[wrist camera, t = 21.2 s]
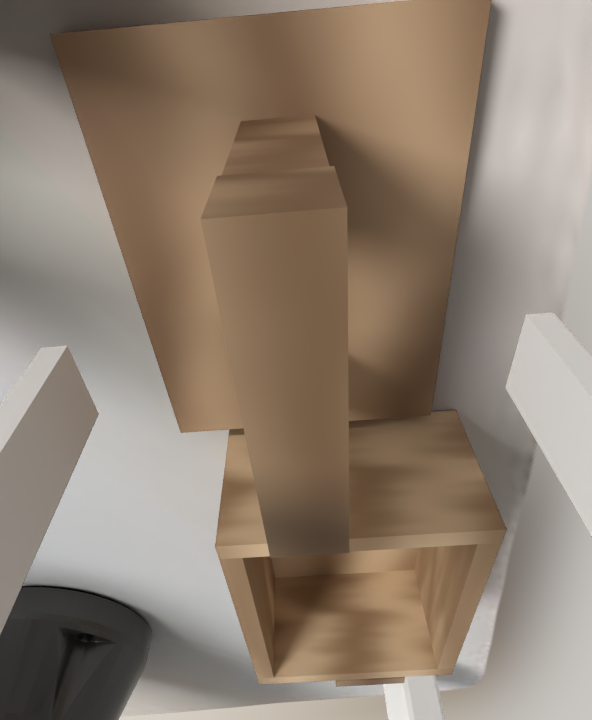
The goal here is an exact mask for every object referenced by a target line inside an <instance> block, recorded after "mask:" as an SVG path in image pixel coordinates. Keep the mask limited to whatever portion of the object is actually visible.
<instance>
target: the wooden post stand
mask: <svg viewBox="0 0 592 720" xmlns="http://www.w3.org/2000/svg"><path fill="white" fill-rule="evenodd" d="M490 7H491V0H408V1H397V2H386V3H376V4H365V5H354V6H344V7H333V8H322V9H312V10H301V11H290V12H280V13H269V14H258V15H248V16H237V17H227V18H216V19H205V20H195V21H184V22H173V23H163V24H152V25H141V26H131V27H120V28H109V29H99V30H88V31H77V32H67V33H57V34H50V35H51V38H52V41H53V44H54V48H55V51H56V54H57V57H58V60H59V63H60V66H61V69H62V72H63V75H64V78H65V81H66V84H67V87H68V90H69V93H70V96H71V99H72V102H73V105H74V109H75V112H76V115H77V118H78V121H79V124H80V127H81V130H82V133H83V136H84V139H85V142H86V145H87V148H88V151H89V154H90V157H91V160H92V163H93V166H94V169H95V173H96V176H97V179H98V182H99V185H100V188H101V191H102V194H103V197H104V200H105V203H106V206H107V209H108V212H109V215H110V218H111V221H112V224H113V227H114V230H115V233H116V237H117V240H118V243H119V246H120V249H121V252H122V255H123V258H124V261H125V264H126V267H127V270H128V273H129V276H130V279H131V282H132V285H133V288H134V291H135V294H136V298H137V301H138V304H139V307H140V310H141V313H142V316H143V319H144V322H145V325H146V328H147V331H148V334H149V337H150V340H151V343H152V346H153V349H154V352H155V355H156V358H157V362H158V365H159V368H160V371H161V374H162V377H163V380H164V383H165V386H166V389H167V392H168V395H169V398H170V401H171V404H172V407H173V410H174V413H175V416H176V419H177V423H178V426H179V429H180V432H181V433H184V432H198V431H213V430H227V429H242V428H244V433H245V438H246V443H247V448H248V453H249V458H250V462H251V467H252V472H253V477H254V482H255V487H256V491H257V496H258V501H259V506H260V511H261V516H262V521H263V525H264V530H265V535H266V540H267V545H268V550H269V554H270V558H279V557H295V556H312V555H328V554H344V553H349V421H357V420H372V419H386V418H401V417H415V416H430V415H431V411H432V404H433V397H434V390H435V383H436V377H437V370H438V363H439V356H440V349H441V342H442V336H443V329H444V322H445V315H446V308H447V301H448V294H449V288H450V281H451V274H452V267H453V260H454V253H455V247H456V240H457V233H458V226H459V219H460V212H461V206H462V199H463V192H464V185H465V178H466V171H467V164H468V158H469V151H470V144H471V137H472V130H473V123H474V117H475V110H476V103H477V96H478V89H479V82H480V75H481V69H482V62H483V55H484V48H485V41H486V34H487V28H488V21H489V14H490Z"/></svg>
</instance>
